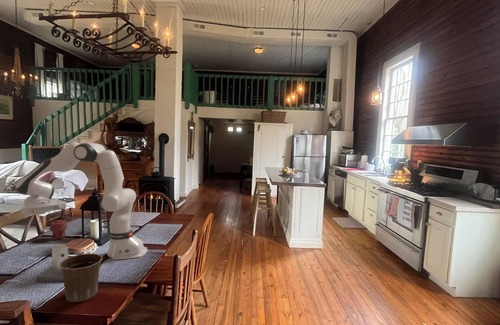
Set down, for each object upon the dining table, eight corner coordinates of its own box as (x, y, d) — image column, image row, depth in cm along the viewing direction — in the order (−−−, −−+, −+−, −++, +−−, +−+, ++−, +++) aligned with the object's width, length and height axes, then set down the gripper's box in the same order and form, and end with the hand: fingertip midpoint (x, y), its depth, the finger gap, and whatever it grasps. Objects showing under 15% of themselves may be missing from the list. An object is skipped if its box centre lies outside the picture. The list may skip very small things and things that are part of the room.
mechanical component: (71, 236, 193) (58, 241, 183) (59, 235, 195) (46, 240, 185) (70, 219, 192) (58, 223, 182) (58, 218, 194) (45, 222, 184)
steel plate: (82, 267, 149) (82, 263, 148) (67, 281, 135) (67, 276, 134) (54, 268, 147) (54, 263, 147) (36, 281, 133) (36, 276, 133)
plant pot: (86, 282, 135) (86, 250, 133) (110, 290, 128) (110, 256, 127) (51, 299, 120) (50, 264, 118) (77, 309, 113) (76, 272, 112)
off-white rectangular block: (63, 266, 145) (62, 244, 144) (68, 269, 141) (68, 247, 140) (52, 269, 140) (51, 247, 139) (57, 273, 137) (56, 250, 136)
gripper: (17, 204, 151) (26, 208, 144) (60, 197, 168) (70, 201, 160) (18, 215, 152) (27, 220, 144) (60, 208, 169) (70, 212, 161)
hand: (50, 210), depth 152 cm, fingers open, 8 cm apart
